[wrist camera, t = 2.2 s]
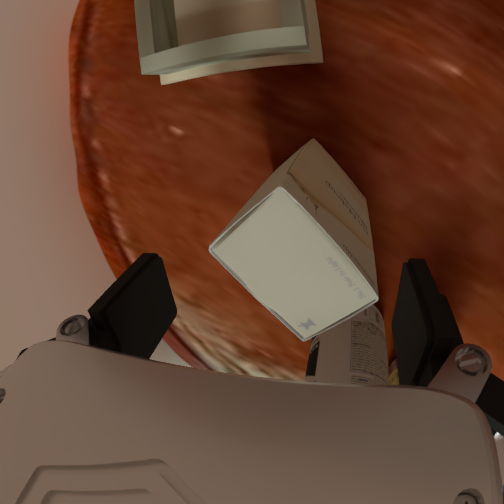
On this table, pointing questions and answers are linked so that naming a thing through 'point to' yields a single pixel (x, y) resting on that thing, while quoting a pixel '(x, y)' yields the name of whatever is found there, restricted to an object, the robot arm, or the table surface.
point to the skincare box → (304, 244)
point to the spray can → (351, 351)
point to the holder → (224, 36)
